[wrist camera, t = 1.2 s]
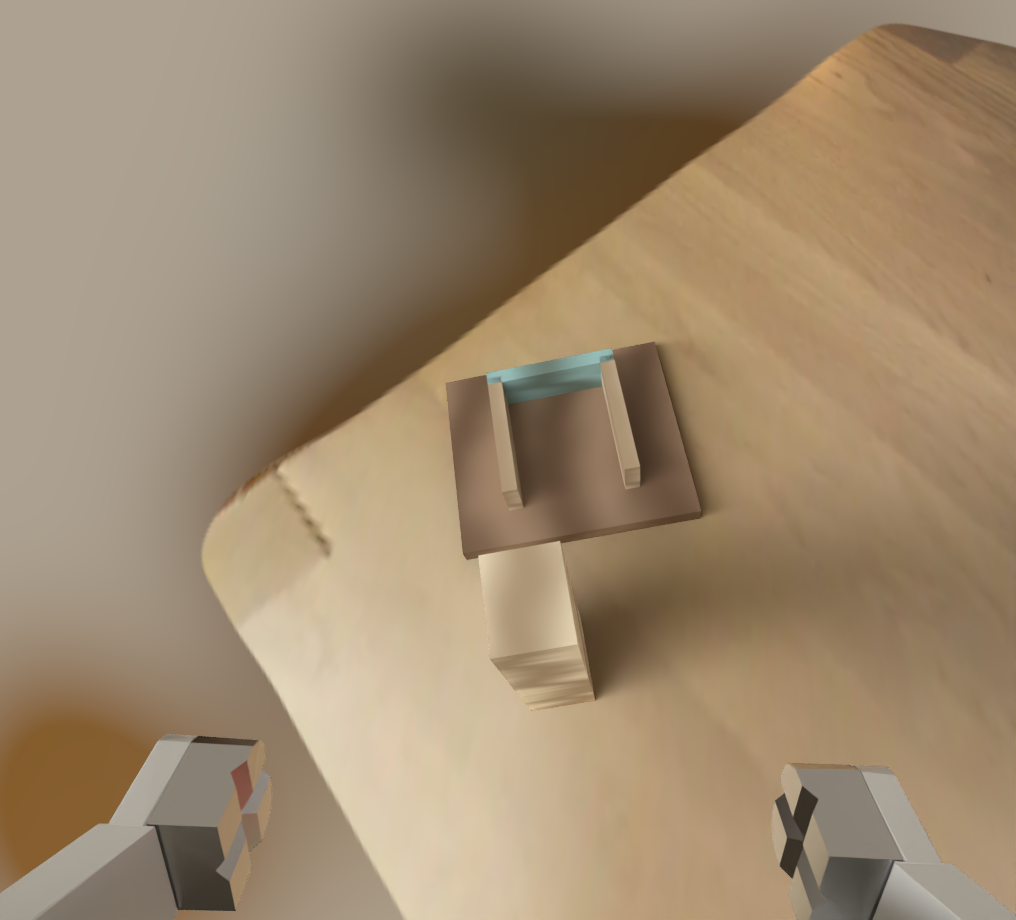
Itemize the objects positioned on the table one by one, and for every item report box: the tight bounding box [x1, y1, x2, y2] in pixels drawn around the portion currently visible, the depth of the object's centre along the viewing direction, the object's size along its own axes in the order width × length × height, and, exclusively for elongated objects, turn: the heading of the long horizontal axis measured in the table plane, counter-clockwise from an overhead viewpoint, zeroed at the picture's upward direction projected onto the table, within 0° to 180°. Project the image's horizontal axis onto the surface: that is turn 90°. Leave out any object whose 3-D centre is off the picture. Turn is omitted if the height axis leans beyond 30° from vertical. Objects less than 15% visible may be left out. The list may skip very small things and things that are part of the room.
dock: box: [446, 342, 701, 560], centre depth 52 cm, size 16×14×4 cm
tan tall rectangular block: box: [478, 541, 595, 711], centre depth 40 cm, size 4×5×14 cm
